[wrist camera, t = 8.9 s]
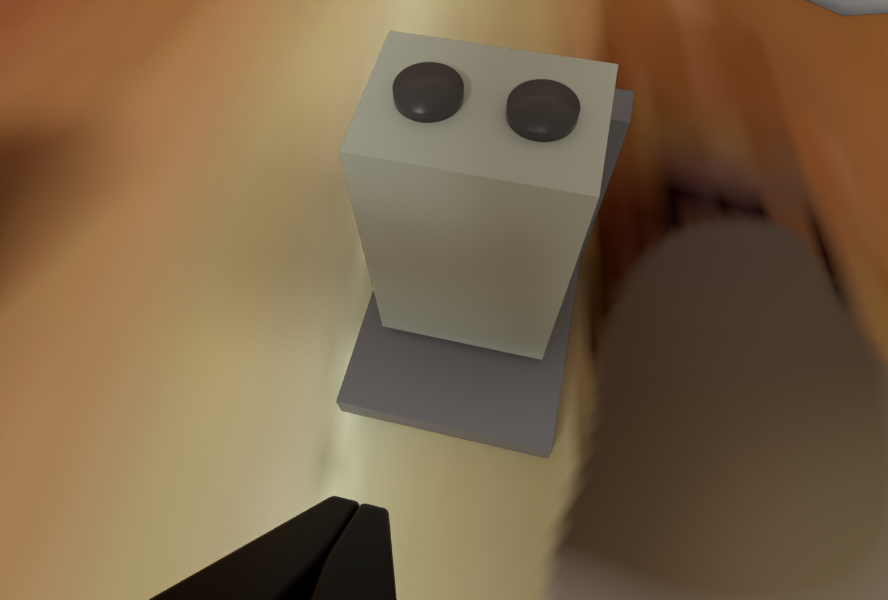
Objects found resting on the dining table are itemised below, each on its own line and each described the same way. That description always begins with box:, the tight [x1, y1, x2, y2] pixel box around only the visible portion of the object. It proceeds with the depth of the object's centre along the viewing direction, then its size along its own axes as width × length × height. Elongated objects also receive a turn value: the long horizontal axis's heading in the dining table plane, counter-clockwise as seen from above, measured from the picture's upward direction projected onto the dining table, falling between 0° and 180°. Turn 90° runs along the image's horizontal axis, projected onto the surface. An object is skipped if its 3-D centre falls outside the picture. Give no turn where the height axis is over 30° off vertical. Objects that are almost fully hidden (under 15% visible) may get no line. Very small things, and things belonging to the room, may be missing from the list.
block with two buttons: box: [339, 30, 618, 360], centre depth 17 cm, size 4×6×9 cm
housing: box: [336, 88, 634, 458], centre depth 18 cm, size 8×7×8 cm
